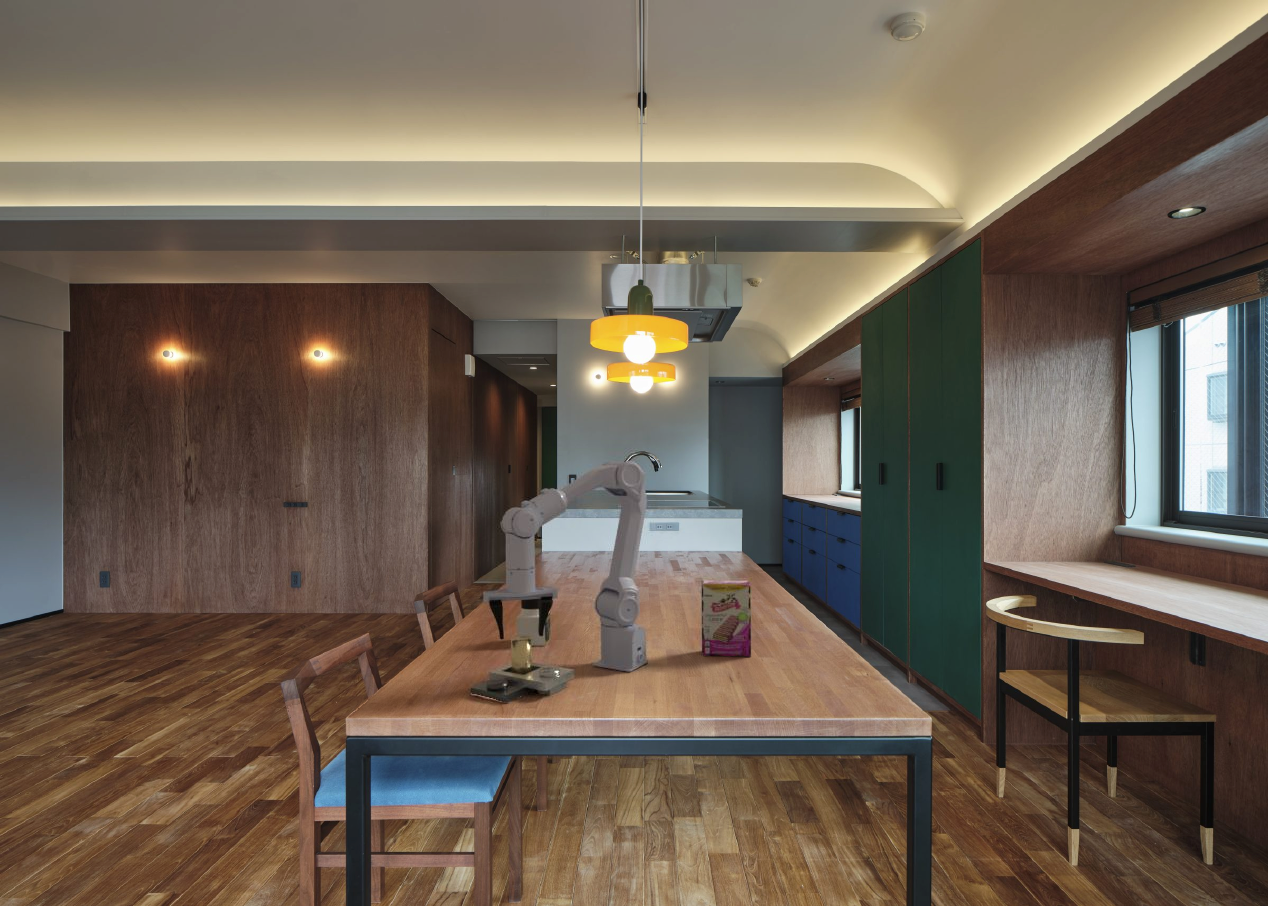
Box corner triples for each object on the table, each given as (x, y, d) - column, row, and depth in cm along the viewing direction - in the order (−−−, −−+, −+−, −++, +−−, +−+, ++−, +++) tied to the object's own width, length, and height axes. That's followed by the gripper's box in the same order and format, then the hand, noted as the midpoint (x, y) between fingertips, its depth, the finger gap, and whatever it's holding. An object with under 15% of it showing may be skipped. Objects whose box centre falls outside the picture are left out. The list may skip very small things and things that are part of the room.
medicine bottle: (546, 646, 155) (545, 596, 155) (516, 646, 155) (516, 596, 156) (550, 638, 162) (550, 590, 163) (522, 638, 162) (521, 591, 163)
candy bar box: (702, 656, 144) (700, 583, 145) (701, 650, 149) (700, 579, 150) (752, 657, 143) (750, 583, 143) (750, 651, 148) (749, 579, 148)
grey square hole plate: (489, 687, 126) (488, 668, 126) (519, 674, 134) (519, 656, 134) (545, 699, 119) (545, 678, 119) (574, 684, 126) (573, 665, 127)
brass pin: (536, 682, 128) (535, 637, 128) (523, 688, 125) (522, 642, 125) (520, 679, 130) (520, 635, 130) (507, 685, 127) (506, 639, 127)
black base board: (519, 674, 134) (519, 663, 134) (553, 681, 129) (553, 669, 129) (470, 695, 121) (470, 683, 122) (506, 703, 117) (506, 690, 117)
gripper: (554, 563, 134) (555, 628, 133) (482, 567, 130) (483, 634, 130) (558, 568, 127) (559, 637, 127) (483, 572, 123) (484, 643, 123)
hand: (521, 636), depth 128 cm, fingers open, 7 cm apart
